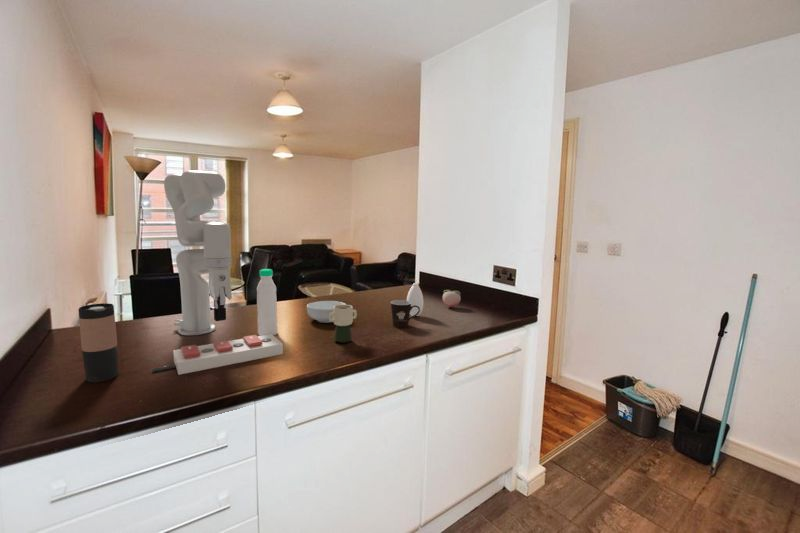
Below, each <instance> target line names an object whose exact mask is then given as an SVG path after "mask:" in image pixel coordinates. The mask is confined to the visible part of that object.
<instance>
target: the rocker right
mask: <svg viewBox="0 0 800 533" xmlns="http://www.w3.org/2000/svg"><path fill="white" fill-rule="evenodd" d="M257 336H258V335H257V334H252V335H246V336H243V337H242V339H243V340H244V341H245V342H246V343H247V344H248V346H249V347H251V346H256V345H262V341H261V340H260V339H259V338H258V337H257Z"/></svg>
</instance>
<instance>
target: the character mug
mask: <svg viewBox="0 0 800 533" xmlns="http://www.w3.org/2000/svg"><path fill="white" fill-rule="evenodd" d="M332 315H333V319H331V316H332ZM357 316H358V311H357V310H356V309H354V307H353V305H351V304H346V305H335V306H334V307H333V313H329V323H333V324H334V325H335V326H336V327H335V331H334V339H333V340H334V341H336V342H338V343H349V342H350V341H352V339H353V338H352V331H351V327H350V325H352V324H353V323H354V322H353V321H354V320H355V319H357Z"/></svg>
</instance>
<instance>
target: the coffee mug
mask: <svg viewBox="0 0 800 533" xmlns="http://www.w3.org/2000/svg"><path fill="white" fill-rule="evenodd" d="M413 307H417V308H418V309H419V311H418V313H419V312H420V308H419V307H418V306H416V305H414V306H412V307H411V302H409V301H407V300H405V299H403V300H401V299H399V300H397V299H396V300H392V301H390V309H391V320H392V327H393V326H394V327H393V328H396V327H398V329H405V328H404V327H406V328H407V326H408V327H409V322H410V320H411V319H413V318H416V317H415V316H416V315H417V314H418V313H417V314H415V315H414V316H411V314H410V311H411V309H412V308H413Z"/></svg>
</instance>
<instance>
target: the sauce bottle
mask: <svg viewBox="0 0 800 533" xmlns="http://www.w3.org/2000/svg"><path fill="white" fill-rule="evenodd" d="M406 301H409V302H411V307H412V306H414V305H416V306H418V307H419V308H420V312H419V313H418V311H419V309H418V308H417V307H413V308H412V309H411V311H410V317H412V316H414V315H415V314H417V313H418V314H417V315H416V316H417V317H418V316H419V315H420V314H421V313H422V312H423V309H424V296H423V292H422V289H421V287H420V286H419V283H417V278H415V279H414V283H413V284H412V285H411V287H410V288H409V290H408V292H407V296H406Z"/></svg>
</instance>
